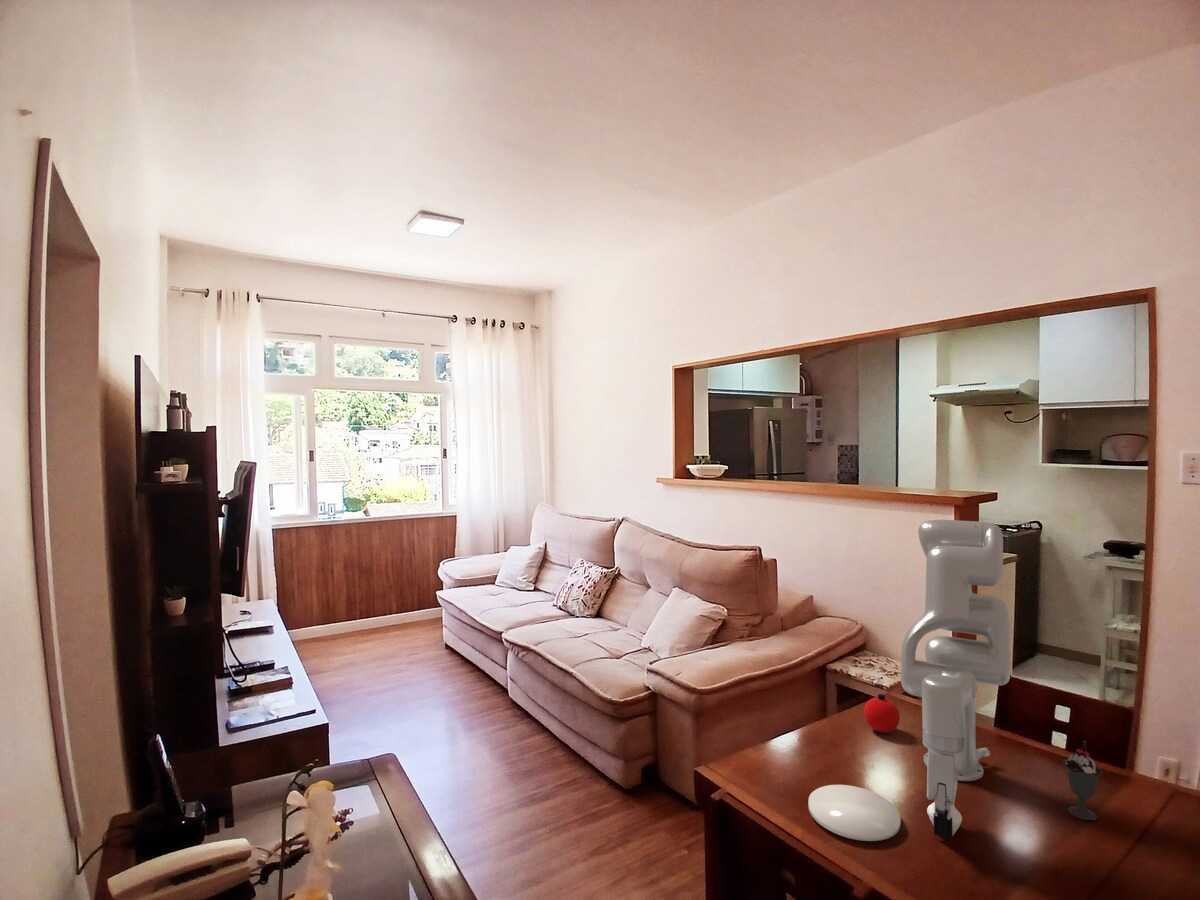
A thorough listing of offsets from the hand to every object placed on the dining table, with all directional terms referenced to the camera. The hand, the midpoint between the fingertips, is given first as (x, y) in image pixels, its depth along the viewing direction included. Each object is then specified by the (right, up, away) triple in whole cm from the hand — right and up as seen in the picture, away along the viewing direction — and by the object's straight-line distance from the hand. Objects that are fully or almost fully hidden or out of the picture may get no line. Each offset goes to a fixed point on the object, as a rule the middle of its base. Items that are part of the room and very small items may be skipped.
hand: (944, 826), depth 125 cm
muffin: (0, -1, 0) cm, 1 cm away
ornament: (+7, -1, +43) cm, 44 cm away
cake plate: (-16, -1, +5) cm, 17 cm away
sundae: (+32, -1, +5) cm, 32 cm away
